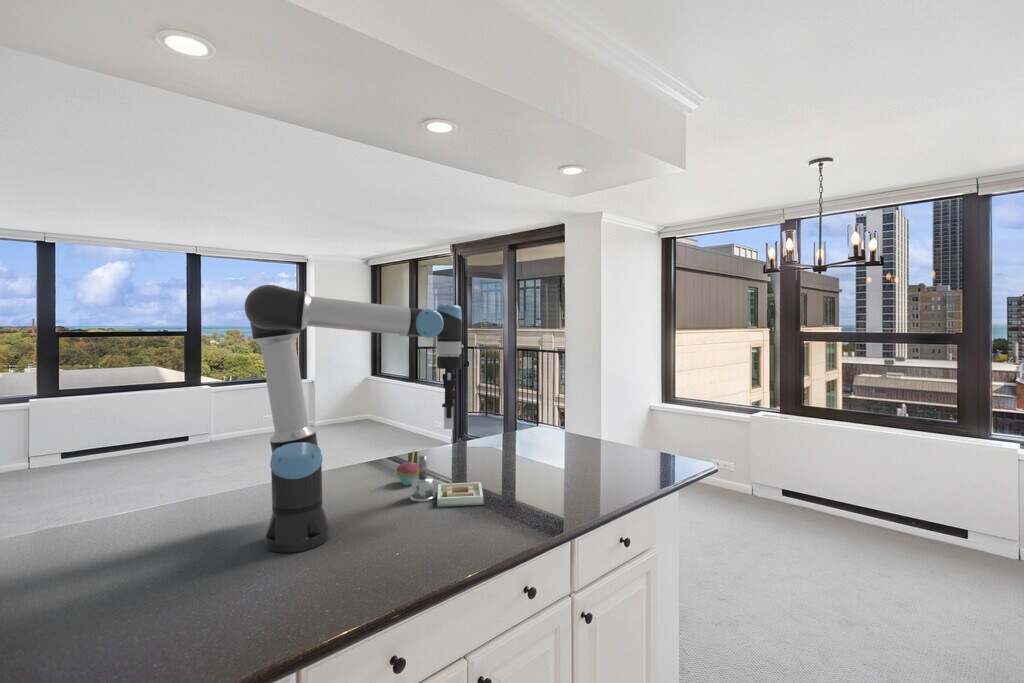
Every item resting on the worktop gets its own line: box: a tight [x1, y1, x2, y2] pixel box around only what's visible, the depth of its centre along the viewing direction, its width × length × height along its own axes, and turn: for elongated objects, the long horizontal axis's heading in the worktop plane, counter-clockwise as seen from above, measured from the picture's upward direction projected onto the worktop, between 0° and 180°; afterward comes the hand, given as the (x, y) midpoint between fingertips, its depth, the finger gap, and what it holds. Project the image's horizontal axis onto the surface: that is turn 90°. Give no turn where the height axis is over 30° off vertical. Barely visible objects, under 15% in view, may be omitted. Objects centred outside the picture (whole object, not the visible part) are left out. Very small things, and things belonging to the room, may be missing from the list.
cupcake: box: [395, 448, 419, 486], centre depth 172 cm, size 9×8×12 cm
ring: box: [442, 485, 474, 497], centre depth 157 cm, size 8×10×2 cm
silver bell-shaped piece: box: [409, 454, 437, 503], centre depth 157 cm, size 8×8×13 cm
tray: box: [436, 481, 484, 508], centre depth 157 cm, size 14×14×2 cm
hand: (448, 424), depth 155 cm, fingers open, 13 cm apart
